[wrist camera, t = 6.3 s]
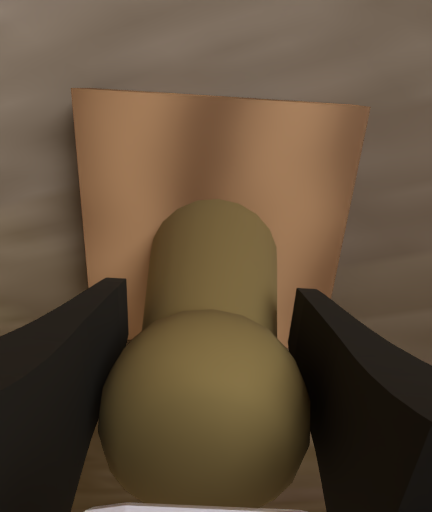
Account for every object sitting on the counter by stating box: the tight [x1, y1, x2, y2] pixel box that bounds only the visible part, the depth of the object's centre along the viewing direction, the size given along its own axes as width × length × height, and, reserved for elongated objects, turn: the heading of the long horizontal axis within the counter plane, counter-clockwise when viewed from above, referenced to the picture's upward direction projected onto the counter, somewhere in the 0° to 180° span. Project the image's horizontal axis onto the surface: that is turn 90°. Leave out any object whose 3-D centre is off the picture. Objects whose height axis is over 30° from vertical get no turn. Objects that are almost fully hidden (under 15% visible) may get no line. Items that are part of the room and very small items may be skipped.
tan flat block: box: [71, 88, 370, 348], centre depth 19 cm, size 12×12×2 cm
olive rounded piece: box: [98, 199, 311, 508], centre depth 13 cm, size 6×6×11 cm
